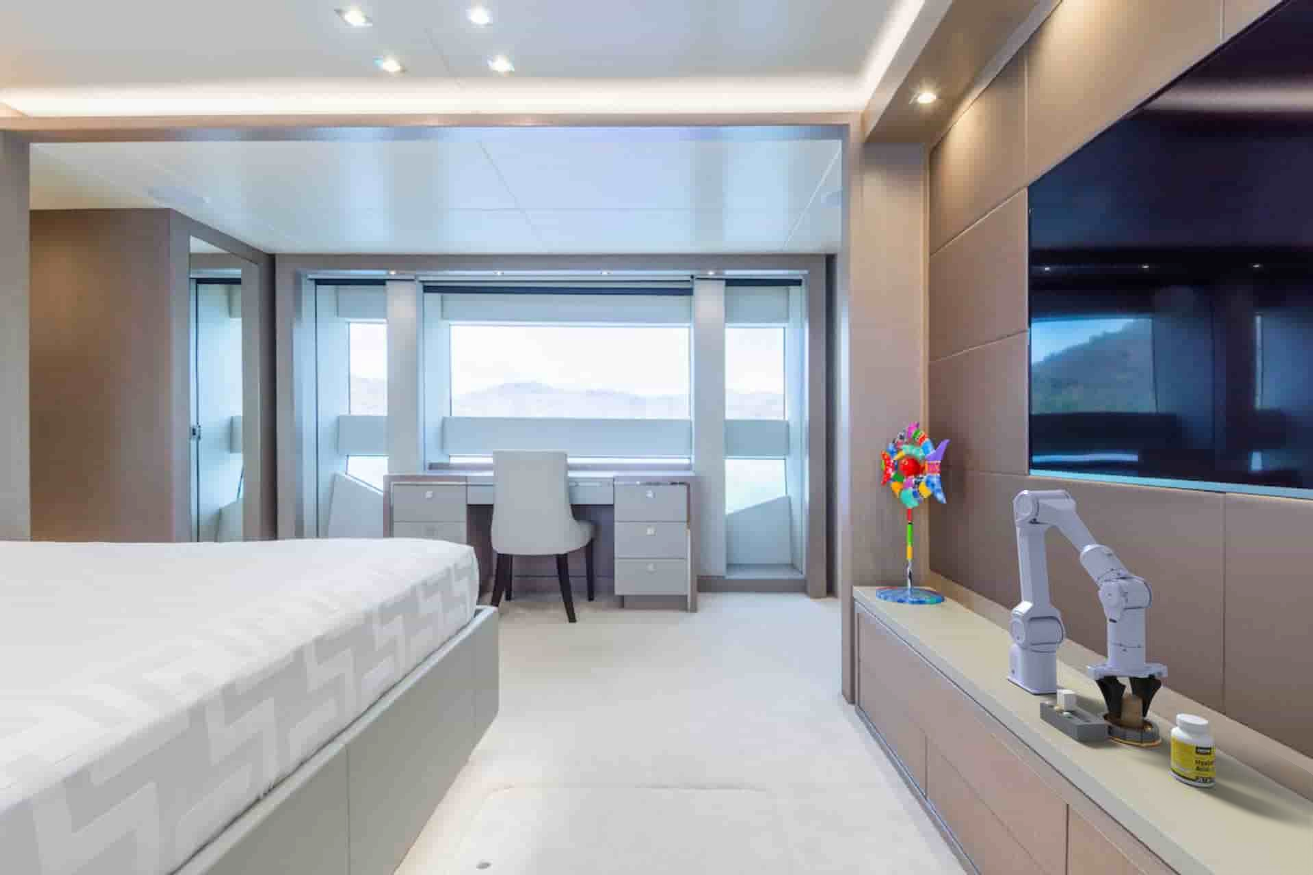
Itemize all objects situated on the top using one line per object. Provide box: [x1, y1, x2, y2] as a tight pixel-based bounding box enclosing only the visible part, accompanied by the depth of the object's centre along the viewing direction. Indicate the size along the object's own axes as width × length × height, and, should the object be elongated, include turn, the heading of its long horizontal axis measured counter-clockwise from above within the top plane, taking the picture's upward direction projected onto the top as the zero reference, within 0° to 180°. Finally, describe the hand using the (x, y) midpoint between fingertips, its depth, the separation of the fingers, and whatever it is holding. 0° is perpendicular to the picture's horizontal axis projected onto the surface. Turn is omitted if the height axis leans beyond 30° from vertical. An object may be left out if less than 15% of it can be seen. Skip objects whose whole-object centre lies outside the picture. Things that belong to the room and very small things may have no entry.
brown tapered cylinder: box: [1113, 691, 1143, 729], centre depth 119 cm, size 4×4×5 cm
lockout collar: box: [1096, 710, 1163, 747], centre depth 119 cm, size 10×10×2 cm
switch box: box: [1039, 700, 1109, 742], centre depth 122 cm, size 10×6×4 cm, turn 4°
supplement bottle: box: [1170, 713, 1216, 788], centre depth 103 cm, size 5×5×10 cm
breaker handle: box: [1056, 688, 1077, 711], centre depth 123 cm, size 2×2×3 cm
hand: (1127, 715), depth 119 cm, fingers closed on brown tapered cylinder, 4 cm apart
